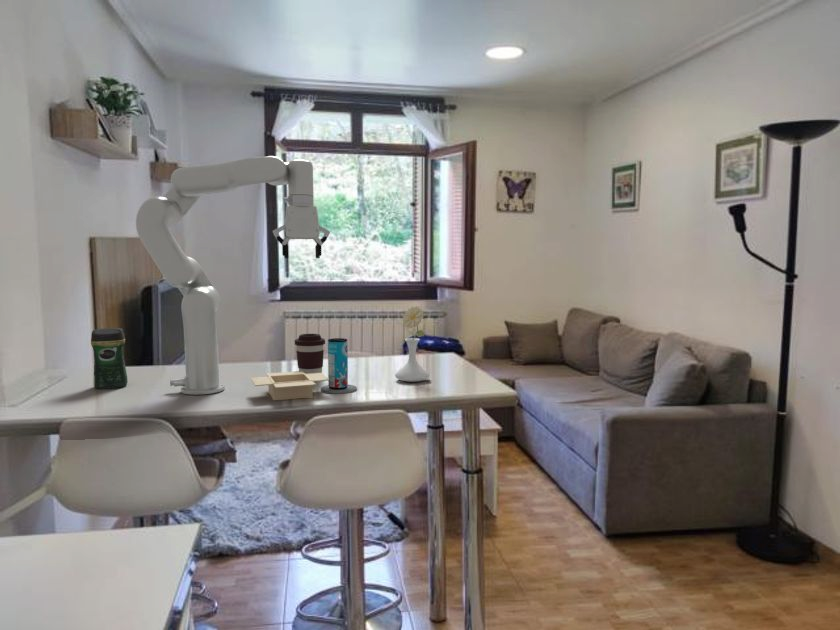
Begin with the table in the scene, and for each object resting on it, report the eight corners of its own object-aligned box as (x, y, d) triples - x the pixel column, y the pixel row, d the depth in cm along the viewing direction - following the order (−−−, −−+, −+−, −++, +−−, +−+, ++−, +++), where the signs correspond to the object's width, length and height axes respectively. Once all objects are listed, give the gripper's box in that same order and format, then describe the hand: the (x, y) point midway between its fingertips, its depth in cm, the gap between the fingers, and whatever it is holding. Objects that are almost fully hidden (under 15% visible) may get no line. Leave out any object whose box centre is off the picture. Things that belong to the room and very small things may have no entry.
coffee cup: (309, 375, 211) (308, 332, 209) (331, 378, 206) (331, 334, 204) (289, 380, 202) (288, 335, 201) (312, 383, 197) (311, 337, 196)
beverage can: (344, 390, 185) (344, 341, 183) (325, 389, 186) (325, 340, 184) (350, 386, 191) (349, 338, 189) (331, 385, 192) (331, 338, 190)
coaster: (325, 395, 181) (325, 393, 181) (317, 387, 191) (317, 385, 191) (361, 392, 185) (361, 390, 185) (351, 384, 195) (351, 383, 195)
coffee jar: (128, 383, 199) (126, 326, 197) (126, 388, 191) (123, 329, 190) (95, 385, 195) (92, 327, 194) (91, 390, 188) (88, 330, 186)
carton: (257, 406, 168) (257, 388, 168) (249, 390, 188) (249, 374, 188) (333, 399, 176) (333, 382, 176) (318, 384, 196) (317, 369, 195)
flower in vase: (389, 379, 205) (389, 304, 202) (419, 376, 210) (419, 303, 207) (406, 386, 193) (406, 307, 191) (438, 383, 198) (438, 306, 196)
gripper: (273, 200, 180) (275, 258, 182) (331, 201, 186) (332, 258, 188) (270, 202, 187) (271, 258, 189) (326, 203, 193) (327, 258, 195)
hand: (302, 258), depth 189 cm, fingers open, 9 cm apart
